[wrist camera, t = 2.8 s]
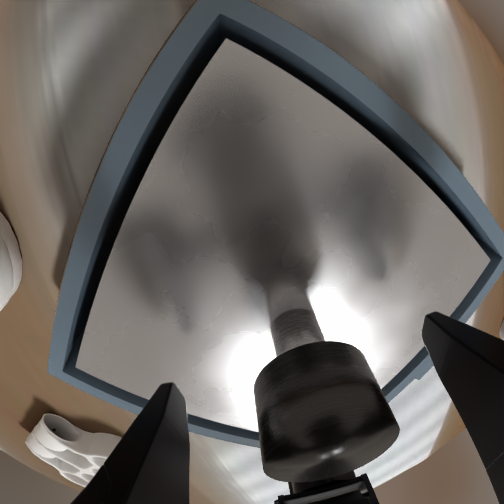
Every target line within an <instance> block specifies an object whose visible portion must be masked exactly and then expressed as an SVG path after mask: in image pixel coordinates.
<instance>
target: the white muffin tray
mask: <svg viewBox="0 0 504 504" xmlns="http://www.w3.org/2000/svg"><path fill="white" fill-rule="evenodd" d="M53 428H56V431H55V432H54V431H52V429H53ZM121 438H122V437H120V436H116V435H113V434H108V433H90V432H86V431H83V430H81V429H79V428H78V427H76V426H74V425H73V424H71V423H70V422H69V421H67V420H66V419H64V418H62V417H60V416H58V415H55V414H49V413H48V414H44V415H43V417H42V419H41V420H40V421H39V423H38V424H37V425H36V426H35V427H34V429H33V431H32V432H31V433H30V435H28V436H27V439H26V442H25V443H26V444H27V446H28V447H29V449H30V450H31V452H32V453H34V454H35V455H36V456H37V457H39V458H40V459H41V460H43V461H45V462H46V463H48V464H50V465H52V466H54V467H55V468H56V469H57V470H59V472H60V474H61V475H62V476H64V477H65V478H67V479H68V480H70V481H72V482H74V483H76V484H78V485H81V486H84V487H86V486H87V485H88V483H89V482H90V481H91V479H92V478H93V477H94V476H95V474H96V473H97V472H98V470H99V469H100V467H101V466H102V465H104V462H105V461H106V459H107V458H108V456H109V455H110V454H111V452H112V451H113V450H114V448H115V447H116V445H117V444H118V443H119V441H120V440H121Z"/></svg>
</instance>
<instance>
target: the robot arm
mask: <svg viewBox="0 0 504 504" xmlns="http://www.w3.org/2000/svg"><path fill="white" fill-rule="evenodd" d="M422 340H423V342H424V344H425V347H426V349H427V351H428V353H429V355H430V358H431V360H432V362H433V364H434V367H435V369H436V371H437V373H438V376H439V378H440V379H441V381H442V383H443V385H444V387H445V388H446V390H447V392H448V394H449V396H450V397H451V399H452V401H453V403H454V405H455V407H456V409H457V410H458V412H459V414H460V416H461V418H462V420H463V422H464V424H465V426H466V428H467V430H468V432H469V434H470V436H471V438H472V440H473V442H474V444H475V446H476V449H477V451H478V453H479V455H480V457H481V459H482V462H483V464H484V466H485V468H486V471H487V474H488V476H489V478H490V481H491V483H492V486H493V488H494V491H495V493H496V496H497V498H498V501H499V504H504V340H501V339H499V338H497V337H495V336H492V335H490V334H488V333H486V332H483V331H481V330H479V329H476V328H474V327H472V326H470V325H467V324H465V323H463V322H460V321H458V320H456V319H454V318H451V317H449V316H447V315H444V314H442V313H440V312H437V311H434V312H431V313H429V314H426V315H425V317H424V321H423V327H422ZM189 459H190V443H189V432H188V421H187V409H186V401H185V398H184V396H183V395H182V393H181V392H180V390H179V389H178V387H177V385H176V384H175V383H174V382H168V383H162V384H161V385H160V386H159V387H158V388H157V390H156V391H155V393H154V394H153V395H152V397H151V398H150V400H149V401H148V402H147V404H146V405H145V407H144V408H143V409H142V411H141V412H140V413H139V415H138V416H137V418H136V419H135V420H134V422H133V423H132V425H131V426H130V427H129V429H128V430H127V432H126V433H125V434H124V436H123V437H122V438H121V440H120V441H119V443H118V444H117V445H116V447H115V448H114V450H113V451H112V452H111V454H110V455H109V456H108V458H107V459H106V461H105V462H104V465H102V466H101V467H100V469H99V470H98V472H97V473H96V474H95V476H94V477H93V478H92V479H91V481H90V482H89V483H88V485H87V486H86V487H85V488H84V489H83V490H82V491H81V493H80V494H79V495H78V496H77V497H76V498H75V499H74V500H73V501H72V503H71V504H189ZM288 484H289V489H290V495H285V496H284V495H280V496H278V500H276V501H274V504H379V502H378V499H377V497H376V495H375V492H374V490H373V488H372V485H371V483H370V481H369V479H368V476H367V474H366V473H365V474H362V475H361V476H359V477H356V476H355V473H354V470H353V471H350V472H348V473H345V474H342V475H339V476H336V477H332V478H328V479H323V480H318V481H311V482H288Z"/></svg>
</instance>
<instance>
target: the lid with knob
mask: <svg viewBox="0 0 504 504" xmlns="http://www.w3.org/2000/svg"><path fill="white" fill-rule="evenodd" d="M489 262H490V259H489V257H488V256H487V255H486V253H485V252H484V251H483V249H482V248H481V247H480V245H479V244H478V243H477V242H476V240H475V239H474V238H473V237H472V235H471V234H470V233H469V232H468V230H467V229H466V228H465V227H464V226H463V224H462V223H461V222H460V221H459V220H458V219H457V217H456V216H455V215H454V214H453V213H452V212H451V211H450V209H449V208H448V207H447V206H446V205H445V204H444V203H443V202H442V201H441V199H440V198H439V197H438V196H437V195H436V194H435V193H434V192H433V191H432V190H431V189H430V188H429V187H428V186H427V185H426V184H425V183H424V182H423V181H422V180H421V179H420V178H419V177H418V176H417V175H416V174H415V173H414V172H413V171H412V170H411V169H410V168H409V167H408V166H407V165H406V164H405V163H404V162H403V161H402V160H401V159H399V158H398V157H397V156H396V155H395V154H394V153H393V152H392V151H391V150H390V149H388V148H387V147H386V146H385V145H384V144H383V143H382V142H380V141H379V140H378V139H377V138H376V137H375V136H373V135H372V134H371V133H370V132H369V131H367V130H366V129H365V128H364V127H363V126H361V125H360V124H359V123H358V122H356V121H355V120H354V119H353V118H351V117H350V116H349V115H347V114H346V113H345V112H343V111H342V110H341V109H340V108H338V107H337V106H336V105H334V104H333V103H331V102H330V101H329V100H327V99H326V98H325V97H323V96H322V95H320V94H319V93H317V92H316V91H315V90H313V89H312V88H310V87H309V86H307V85H306V84H304V83H303V82H301V81H300V80H298V79H297V78H295V77H293V76H292V75H290V74H289V73H287V72H286V71H284V70H282V69H281V68H279V67H277V66H276V65H274V64H272V63H271V62H269V61H267V60H266V59H264V58H262V57H260V56H259V55H257V54H255V53H253V52H252V51H250V50H248V49H246V48H244V47H242V46H240V45H238V44H237V43H235V42H233V41H231V40H229V39H227V38H226V39H225V41H224V42H223V43H222V45H221V46H220V48H219V49H218V50H217V52H216V53H215V55H214V56H213V58H212V59H211V61H210V62H209V63H208V65H207V66H206V68H205V69H204V71H203V72H202V74H201V76H200V77H199V79H198V80H197V82H196V83H195V85H194V86H193V88H192V90H191V91H190V93H189V95H188V96H187V98H186V99H185V101H184V103H183V104H182V106H181V108H180V109H179V111H178V113H177V115H176V116H175V118H174V120H173V122H172V123H171V125H170V127H169V129H168V131H167V132H166V134H165V136H164V138H163V140H162V142H161V143H160V145H159V147H158V149H157V151H156V153H155V155H154V157H153V159H152V161H151V163H150V165H149V167H148V169H147V171H146V173H145V175H144V177H143V179H142V181H141V183H140V185H139V187H138V189H137V192H136V194H135V196H134V198H133V200H132V203H131V205H130V207H129V209H128V212H127V214H126V216H125V219H124V221H123V223H122V226H121V228H120V230H119V233H118V235H117V238H116V240H115V243H114V245H113V248H112V251H111V253H110V256H109V258H108V261H107V264H106V267H105V269H104V272H103V275H102V278H101V281H100V284H99V287H98V290H97V293H96V296H95V299H94V302H93V305H92V308H91V311H90V315H89V318H88V321H87V325H86V328H85V332H84V335H83V339H82V343H81V347H80V350H79V354H78V358H77V363H76V368H78V369H80V370H82V371H84V372H86V373H88V374H90V375H92V376H94V377H96V378H98V379H101V380H103V381H105V382H107V383H109V384H112V385H114V386H116V387H118V388H121V389H123V390H125V391H128V392H130V393H133V394H135V395H138V396H140V397H143V398H145V399H148V400H150V398H151V397H152V395H153V394H154V393H155V391H156V390H157V388H158V387H159V386H160V385H161V384H162V383H168V382H174V383H175V384H176V385H177V387H178V389H179V390H180V392H181V393H182V395H183V396H184V398H185V401H186V409H187V413H188V414H191V415H194V416H198V417H201V418H205V419H208V420H212V421H215V422H219V423H223V424H226V425H230V426H234V427H238V428H243V429H247V430H251V431H256V432H259V440H260V448H261V456H262V463H263V470H264V472H265V474H266V475H267V476H269V477H270V478H273V479H275V480H279V481H284V482H311V481H318V480H323V479H328V478H332V477H336V476H339V475H342V474H345V473H348V472H350V471H353V470H355V469H357V468H359V467H361V466H363V465H365V464H367V463H369V462H371V461H372V460H374V459H376V458H377V457H378V456H380V455H381V454H383V453H384V452H385V451H386V450H387V449H388V448H389V447H390V446H391V445H392V444H393V443H394V442H395V440H396V439H397V437H398V435H399V431H400V428H399V425H398V423H397V421H396V419H395V417H394V415H393V413H392V411H391V408H390V406H389V404H388V402H387V400H386V398H385V396H384V394H383V392H382V390H381V389H382V388H383V387H384V386H385V385H386V384H387V383H388V382H389V381H390V380H391V379H392V378H394V377H395V376H396V375H397V374H398V373H399V372H400V371H401V370H402V369H403V368H404V367H405V366H406V365H407V364H408V363H409V362H410V361H411V360H412V359H413V357H414V356H415V355H416V354H417V353H418V352H419V351H420V350H421V349H422V348H423V347H424V346H425V344H424V342H423V340H422V327H423V321H424V317H425V315H426V314H429V313H431V312H434V311H437V312H440V313H442V314H444V315H447V316H449V317H450V315H451V314H452V313H453V312H454V311H455V309H456V308H457V307H458V305H459V304H460V303H461V302H462V300H463V299H464V298H465V296H466V295H467V294H468V292H469V291H470V289H471V288H472V287H473V285H474V284H475V283H476V281H477V280H478V278H479V277H480V275H481V274H482V272H483V271H484V269H485V268H486V266H487V265H488V263H489Z"/></svg>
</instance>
